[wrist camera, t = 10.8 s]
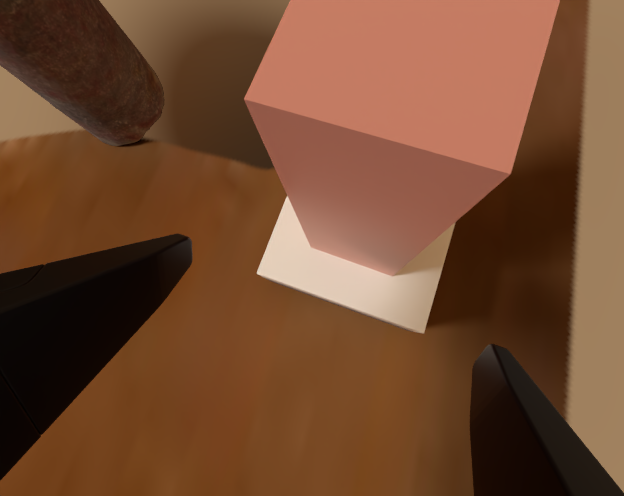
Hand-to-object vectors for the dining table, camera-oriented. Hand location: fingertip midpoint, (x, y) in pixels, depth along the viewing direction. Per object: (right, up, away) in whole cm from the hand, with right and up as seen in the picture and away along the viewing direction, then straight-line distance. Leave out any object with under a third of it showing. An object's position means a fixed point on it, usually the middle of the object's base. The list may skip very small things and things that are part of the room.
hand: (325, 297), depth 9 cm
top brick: (+3, +3, +10) cm, 10 cm away
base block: (+3, +2, +13) cm, 14 cm away
